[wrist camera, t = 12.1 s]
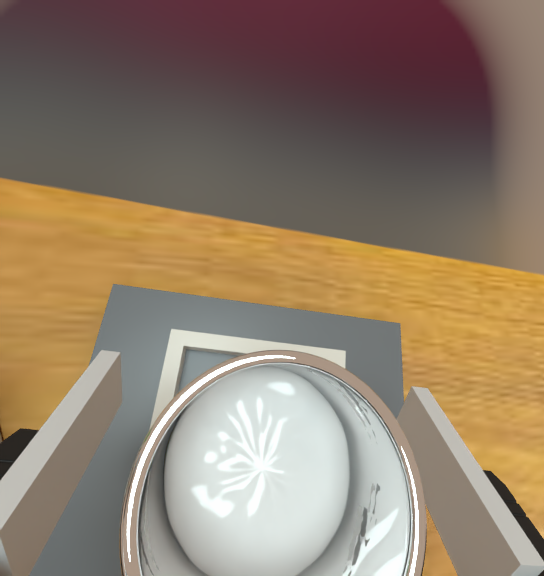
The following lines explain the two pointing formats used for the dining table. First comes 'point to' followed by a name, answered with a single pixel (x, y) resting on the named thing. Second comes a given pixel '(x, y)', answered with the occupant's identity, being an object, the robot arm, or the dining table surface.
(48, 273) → the dining table surface
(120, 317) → the grey square plate
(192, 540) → the chrome tumbler
